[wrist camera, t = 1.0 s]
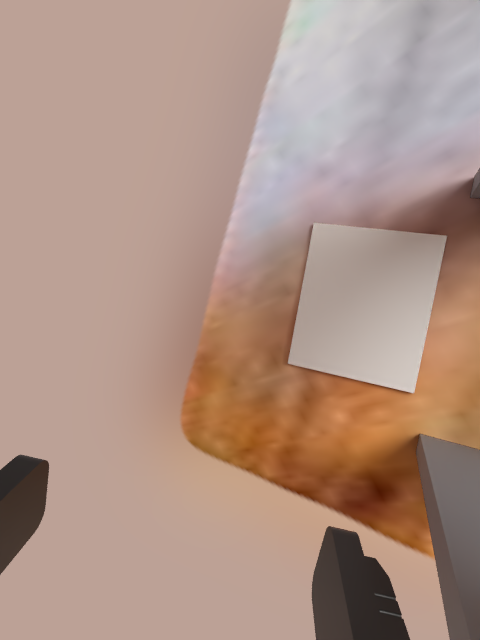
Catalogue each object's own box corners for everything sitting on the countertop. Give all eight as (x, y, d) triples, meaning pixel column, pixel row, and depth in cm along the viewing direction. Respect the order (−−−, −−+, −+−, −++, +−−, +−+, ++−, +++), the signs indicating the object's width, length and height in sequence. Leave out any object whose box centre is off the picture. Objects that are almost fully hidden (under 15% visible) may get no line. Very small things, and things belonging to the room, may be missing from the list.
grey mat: (314, 223, 33) (313, 222, 32) (446, 236, 29) (447, 235, 29) (288, 363, 34) (287, 363, 33) (413, 392, 30) (413, 393, 30)
